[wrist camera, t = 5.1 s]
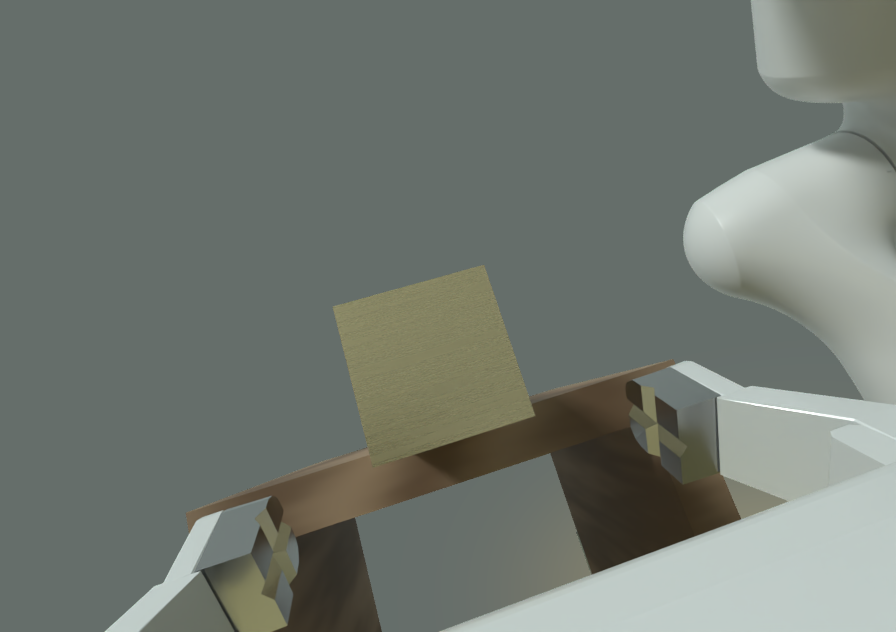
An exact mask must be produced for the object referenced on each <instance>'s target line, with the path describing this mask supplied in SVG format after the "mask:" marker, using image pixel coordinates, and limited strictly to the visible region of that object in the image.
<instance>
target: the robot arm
mask: <svg viewBox="0 0 896 632" xmlns="http://www.w3.org/2000/svg"><path fill="white" fill-rule="evenodd" d="M751 7H752V17H753V27H754V37H755V47H756V57H757V67H758V71H759V73H760V75H761V77H762V79H763V80H764V82H765V83H766V84H767V85H768V87H769V88H770V89H771V90H773V91H774V92H775V93H777V94H779V95H781V96H783V97H785V98H788V99H792V100H797V101H804V102H817V103H843V109H844V118H843V122H842V125H841V127H840V128H839V130H838V131H836V132H834V133H832V134H830V135H829V136H827V137H825V138H823V139H820V140H818V141H815V142H813V143H811V144H808V145H806V146H804V147H801V148H798V149H796V150H794V151H791V152H789V153H786V154H784V155H782V156H779V157H777V158H774V159H772V160H770V161H767V162H765V163H762V164H760V165H758V166H755V167H753V168H750V169H748V170H746V171H744V172H743V173H741V174H739V175H737V176H736V177H734V178H732V179H731V180H729V181H727V182H726V183H724V184H722V185H721V186H719V187H717V188H716V189H714V190H713V191H711V192H710V193H708V194H707V195H705V196H704V197H702V198H700V199H699V200H697V201H696V202H695V203H694V204H693V206H692V208H691V209H690V211H689V214H688V216H687V219H686V222H685V226H684V233H683V244H684V250H685V254H686V257H687V259H688V262H689V264H690V266H691V267H692V269H693V270H694V271H695V273H696V274H697V275H698V276H699V277H700V278H701V279H702V280H703V281H704V282H705V283H706V284H708V285H709V286H710V287H712V288H714V289H715V290H717V291H719V292H721V293H724V294H726V295H729V296H732V297H736V298H741V299H746V300H750V301H753V302H757V303H760V304H762V305H765V306H768V307H770V308H773V309H775V310H777V311H779V312H781V313H783V314H785V315H787V316H789V317H791V318H792V319H794V320H795V321H797V322H799V323H800V324H801V325H803V326H804V327H806V328H807V329H808V330H810V331H811V332H813V334H815V335H816V336H817V337H818V338H819V339H820V340H822V341H823V342H824V343H825V344H826V345H827V346H828V347H829V349H830V350H831V351H832V352H833V353H834V354H835V356H836V357H837V358H838V359H839V361H840V362H841V364H842V365H843V367H844V368H845V370H846V371H847V373H848V374H849V376H850V378H851V379H852V381H853V382H854V384H855V385H856V387H857V389H858V390H859V392H860V394H861V395H862V397H863V399H864V401H862V400H854V399H847V398H839V397H830V396H824V395H816V394H808V393H801V392H793V391H786V390H778V389H771V388H763V387H755V386H750V387H747V388H744V387H742V386H740V385H738V384H736V383H734V382H732V381H730V380H728V379H726V378H724V377H722V376H720V375H718V374H716V373H714V372H712V371H710V370H708V369H706V368H704V367H702V366H700V365H698V364H696V363H694V362H692V361H684V362H681V363H678V364H675V365H673V366H670V367H667V368H665V369H662V370H659V371H657V372H654V373H651V374H648V375H645V376H642V377H639V378H636V379H633V380H631V381H628V382H627V383H626V388H625V389H626V398H627V399H628V400H629V401H630V402H631V403H632V404H633V407H632V409H631V411H630V413H629V421H630V427H631V430H632V432H633V434H634V436H635V439H636V440H637V441H638V443H639V444H640V446H641V447H642V448H643V449H644V450H645V451H646V452H647V453H649V454H652V455H656V456H659V457H661V465H662V466H663V467H664V468H665V469H666V470H667V471H668V472H669V473H670V474H672V475H673V476H674V477H675V478H676V479H677V480H678V481H679V482H680V483H682V484H687V483H690V482H693V481H696V480H699V479H702V478H705V477H708V476H711V475H714V474H718V473H720V475H723V476H725V477H728V478H730V479H733V480H736V481H738V482H741V483H743V484H746V485H748V486H751V487H754V488H756V489H759V490H761V491H764V492H767V493H769V494H772V495H774V496H777V497H779V498H782V499H785V500H787V501H789V502H786V503H784V504H781V505H778V506H776V507H773V508H770V509H768V510H765V511H762V512H760V513H757V514H755V515H752V516H749V517H746V518H744V519H741V520H738V521H735V522H733V523H730V524H727V525H725V526H722V527H719V528H717V529H714V530H711V531H708V532H706V533H703V534H700V535H698V536H695V537H692V538H689V539H687V540H684V541H681V542H679V543H676V544H673V545H671V546H668V547H665V548H662V549H660V550H657V551H654V552H652V553H649V554H646V555H644V556H641V557H638V558H635V559H633V560H630V561H627V562H625V563H622V564H619V565H617V566H614V567H611V568H608V569H606V570H603V571H600V572H598V573H595V574H592V575H590V576H587V577H584V578H581V579H579V580H576V581H573V582H571V583H568V584H566V585H563V586H560V587H557V588H555V589H552V590H549V591H547V592H544V593H541V594H539V595H536V596H533V597H531V598H528V599H525V600H523V601H520V602H517V603H515V604H512V605H509V606H507V607H504V608H501V609H499V610H496V611H494V612H491V613H488V614H485V615H482V616H480V617H477V618H474V619H472V620H469V621H466V622H464V623H461V624H458V625H456V626H453V627H450V628H448V629H445V630H442V631H440V632H896V0H751ZM283 512H284V510H283V508H282V506H281V504H280V502H279V500H278V498H276V497H274V496H269V497H266V498H263V499H259V500H256V501H253V502H249V503H246V504H243V505H239V506H236V507H233V508H229V509H226V510H222V511H219V512H216V513H213V514H210V515H207V516H204V517H202V518H200V519H199V520H197V521H196V522H195V524H194V526H193V528H192V530H191V532H190V534H189V535H188V537H187V539H186V541H185V543H184V545H183V547H182V549H181V551H180V552H179V554H178V556H177V558H176V560H175V562H174V564H173V566H172V568H171V569H170V571H169V573H168V575H167V577H166V579H165V581H164V583H163V584H160V585H157V586H154V587H153V588H152V589H151V590H150V591H149V592H148V593H147V594H146V595H144V596H143V597H142V598H141V599H140V600H139V601H138V602H137V603H136V604H135V605H134V606H132V607H131V608H130V609H129V610H128V611H127V612H126V613H125V614H124V615H123V616H121V617H120V618H119V619H118V620H117V621H116V622H115V623H114V624H113V625H112V626H110V627H109V628H108V629H107V630H106V631H105V632H272V631H275V630H277V629H280V628H283V627H285V626H287V625H288V620H289V614H290V609H291V604H292V598H293V592H292V590H291V588H290V586H289V584H290V583H291V581H292V580H293V579H294V578H295V576H296V575H297V571H298V565H299V554H298V545H297V541H296V537H295V534H294V532H293V530H292V527H290V526H289V525H287V524H285V523H283V522H281V520H282V516H283Z"/></svg>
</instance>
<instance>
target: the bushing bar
mask: <svg viewBox="0 0 896 632" xmlns="http://www.w3.org/2000/svg"><path fill="white" fill-rule="evenodd" d="M333 310H334V313H335V318H336V322H337V326H338V330H339V334H340V338H341V342H342V346H343V350H344V354H345V358H346V362H347V366H348V370H349V374H350V378H351V382H352V386H353V389H354V394H355V398H356V402H357V406H358V410H359V414H360V418H361V422H362V426H363V430H364V434H365V438H366V442H367V446H368V450H369V454H370V458H371V462H372V466H373V468H374V467H377V466H380V465H383V464H387V463H390V462H393V461H396V460H399V459H402V458H405V457H409V456H412V455H415V454H418V453H421V452H424V451H427V450H431V449H434V448H437V447H440V446H443V445H446V444H449V443H452V442H456V441H459V440H462V439H465V438H468V437H471V436H474V435H478V434H481V433H484V432H487V431H490V430H493V429H496V428H499V427H503V426H506V425H509V424H512V423H515V422H518V421H521V420H525V419H528V418H531V417H534V416H535V413H534V410H533V407H532V404H531V401H530V399H529V396H528V393H527V390H526V387H525V384H524V381H523V378H522V375H521V372H520V369H519V366H518V363H517V360H516V357H515V355H514V352H513V349H512V346H511V343H510V340H509V337H508V334H507V331H506V328H505V325H504V322H503V320H502V317H501V313H500V310H499V308H498V305H497V302H496V299H495V296H494V293H493V290H492V287H491V284H490V281H489V278H488V275H487V272H486V269H485V266H484V265H482V266H478V267H475V268H471V269H467V270H464V271H460V272H456V273H453V274H449V275H446V276H442V277H439V278H435V279H432V280H428V281H424V282H420V283H417V284H413V285H409V286H406V287H402V288H399V289H395V290H392V291H388V292H384V293H381V294H377V295H373V296H369V297H366V298H363V299H359V300H355V301H351V302H348V303H345V304H341V305H337V306H334V307H333Z"/></svg>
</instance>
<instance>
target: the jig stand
mask: <svg viewBox="0 0 896 632" xmlns="http://www.w3.org/2000/svg"><path fill="white" fill-rule="evenodd" d="M673 365H675V362H674V360H673V359H672V360H668V361H664V362H660V363H656V364H652V365H648V366H644V367H640V368H636V369H632V370H628V371H624V372H620V373H616V374H612V375H608V376H604V377H600V378H596V379H592V380H588V381H584V382H580V383H576V384H572V385H568V386H564V387H560V388H556V389H552V390H549V391H546V392H543V393H540V394H536V395H533V396H530V397H529V399H530V401H531V404H532V407H533V410H534V413H535V416H534V417H531V418H528V419H525V420H521V421H518V422H515V423H512V424H509V425H506V426H503V427H499V428H496V429H493V430H490V431H487V432H484V433H481V434H478V435H474V436H471V437H468V438H465V439H462V440H459V441H456V442H452V443H449V444H446V445H443V446H440V447H437V448H434V449H431V450H427V451H424V452H421V453H418V454H415V455H412V456H409V457H405V458H402V459H399V460H396V461H393V462H390V463H387V464H383V465H380V466H377V467H374V468H373V466H372V462H371V458H370V454H369V450H368V447H367V448H364V449H361V450H357V451H355V452H351V453H348V454H345V455H342V456H338V457H335V458H332V459H329V460H326V461H322V462H319V463H316V464H314V465H311V466H308V467H305V468H303V469H300V470H297V471H295V472H292V473H290V474H287V475H284V476H282V477H279V478H276V479H274V480H271V481H268V482H266V483H263V484H261V485H258V486H255V487H253V488H250V489H247V490H245V491H242V492H240V493H237V494H234V495H232V496H229V497H226V498H224V499H221V500H219V501H216V502H213V503H211V504H208V505H205V506H203V507H200V508H197V509H195V510H192V511H189V512H187V513H186V517H187V522H188V529H189V534H190V532H191V530H192V528H193V526H194V524H195V522H196V521H197V520H199V519H200V518H202V517H204V516H207V515H210V514H213V513H216V512H219V511H222V510H226V509H229V508H233V507H236V506H239V505H243V504H246V503H249V502H253V501H256V500H259V499H263V498H266V497H269V496H274V497H276V498H278V500H279V502H280V504H281V506H282V508H283V510H284V512H283V516H282V520H281V522H283V523H285V524H287V525H289V526H290V527H292V530H293V532H294V534H295V537H296V541H297V545H298V554H299V565H298V571H297V575H296V576H295V578H294V579H293V580H292V581H291V583H290V584H289V586H290V588H291V590H292V592H293V598H292V604H291V609H290V614H289V620H288V625H287V626H285V627H283V628H280V629H277V630H275V631H272V632H382V631H381V626H380V622H379V618H378V614H377V609H376V605H375V601H374V597H373V593H372V588H371V584H370V580H369V575H368V571H367V567H366V563H365V558H364V554H363V550H362V546H361V541H360V537H359V533H358V529H357V524H356V520H355V517H358V516H361V515H364V514H367V513H370V512H373V511H376V510H379V509H382V508H385V507H388V506H391V505H394V504H397V503H400V502H403V501H406V500H409V499H412V498H415V497H418V496H421V495H424V494H427V493H430V492H433V491H436V490H439V489H442V488H446V487H449V486H452V485H455V484H458V483H461V482H464V481H467V480H469V479H473V478H476V477H479V476H482V475H485V474H488V473H491V472H494V471H497V470H500V469H503V468H506V467H509V466H512V465H515V464H518V463H521V462H524V461H527V460H530V459H533V458H536V457H540V456H543V455H546V454H549V453H551V456H552V459H553V462H554V465H555V468H556V471H557V474H558V477H559V480H560V483H561V485H562V489H563V491H564V494H565V497H566V500H567V503H568V506H569V509H570V512H571V515H572V518H573V521H574V523H575V527H576V529H577V532H578V535H579V538H580V541H581V544H582V547H583V550H584V553H585V556H586V559H587V562H588V565H589V568H590V570H591V573H592V574H595V573H598V572H600V571H603V570H606V569H608V568H611V567H614V566H617V565H619V564H622V563H625V562H627V561H630V560H633V559H635V558H638V557H641V556H644V555H646V554H649V553H652V552H654V551H657V550H660V549H662V548H665V547H668V546H671V545H673V544H676V543H679V542H681V541H684V540H687V539H689V538H692V537H695V536H698V535H700V534H703V533H706V532H708V531H711V530H714V529H717V528H719V527H722V526H725V525H727V524H730V523H733V522H735V521H738V520H741V518H740V515H739V513H738V511H737V508H736V506H735V504H734V501H733V499H732V497H731V494H730V492H729V489H728V487H727V485H726V483H725V480H724V478H723V475H720V473H718V474H714V475H711V476H708V477H705V478H702V479H699V480H696V481H693V482H690V483H687V484H682V483H680V482H679V481H678V480H677V479H676V478H675V477H674V476H673V475H672V474H670V473H669V472H668V471H667V470H666V469H665V468H664V467H663V466H662V465H661V457H659V456H656V455H652V454H649V453H647V452H646V451H645V450H644V449H643V448H642V447H641V446H640V444H639V443H638V441H637V440H636V439H635V436H634V434H633V432H632V430H631V427H630V421H629V413H630V411H631V409H632V407H633V404H632V403H631V402H630V401H629V400H628V399H627V398H626V389H625V388H626V383H627V382H628V381H631V380H633V379H636V378H639V377H642V376H645V375H648V374H651V373H654V372H657V371H659V370H662V369H665V368H667V367H670V366H673Z"/></svg>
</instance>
